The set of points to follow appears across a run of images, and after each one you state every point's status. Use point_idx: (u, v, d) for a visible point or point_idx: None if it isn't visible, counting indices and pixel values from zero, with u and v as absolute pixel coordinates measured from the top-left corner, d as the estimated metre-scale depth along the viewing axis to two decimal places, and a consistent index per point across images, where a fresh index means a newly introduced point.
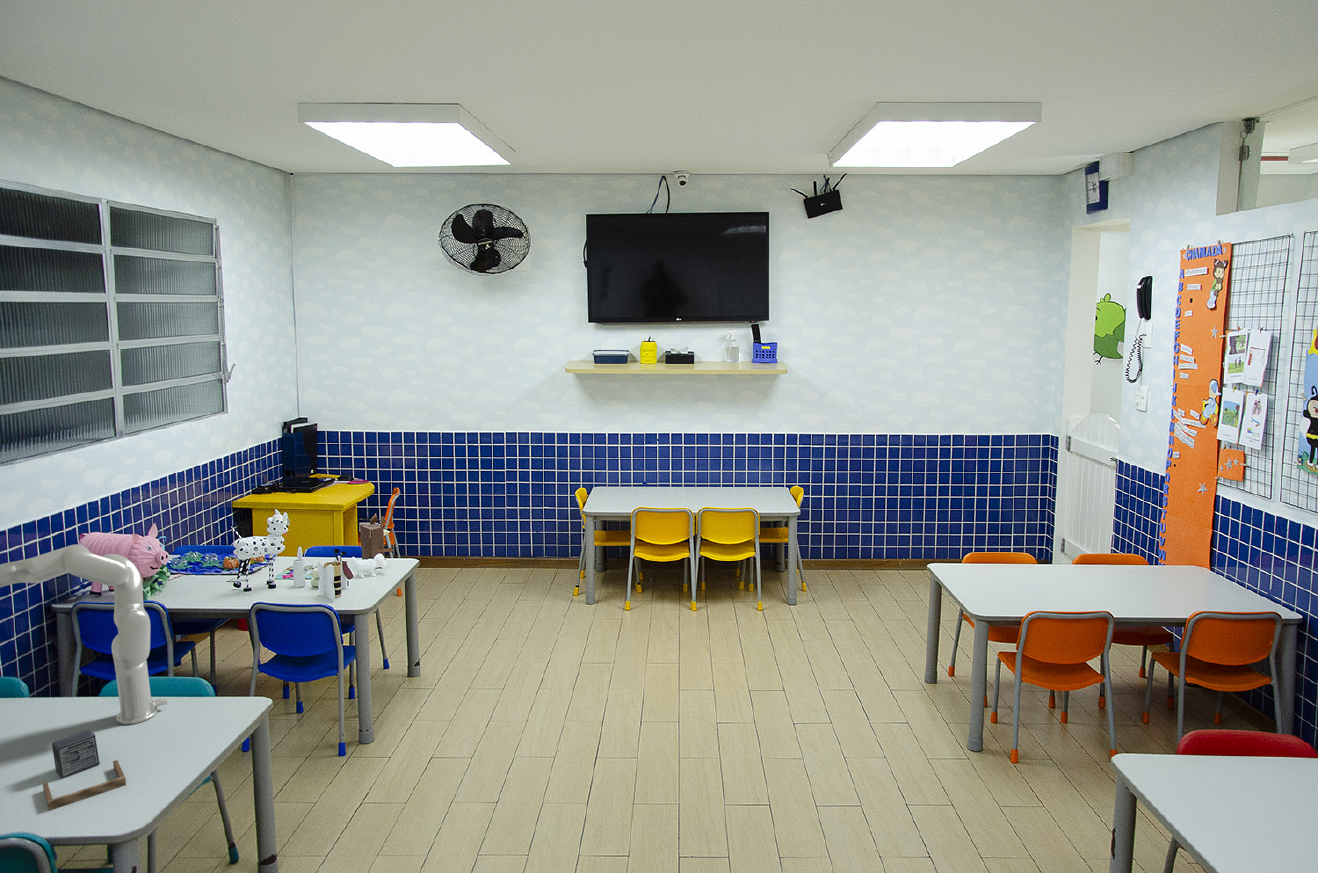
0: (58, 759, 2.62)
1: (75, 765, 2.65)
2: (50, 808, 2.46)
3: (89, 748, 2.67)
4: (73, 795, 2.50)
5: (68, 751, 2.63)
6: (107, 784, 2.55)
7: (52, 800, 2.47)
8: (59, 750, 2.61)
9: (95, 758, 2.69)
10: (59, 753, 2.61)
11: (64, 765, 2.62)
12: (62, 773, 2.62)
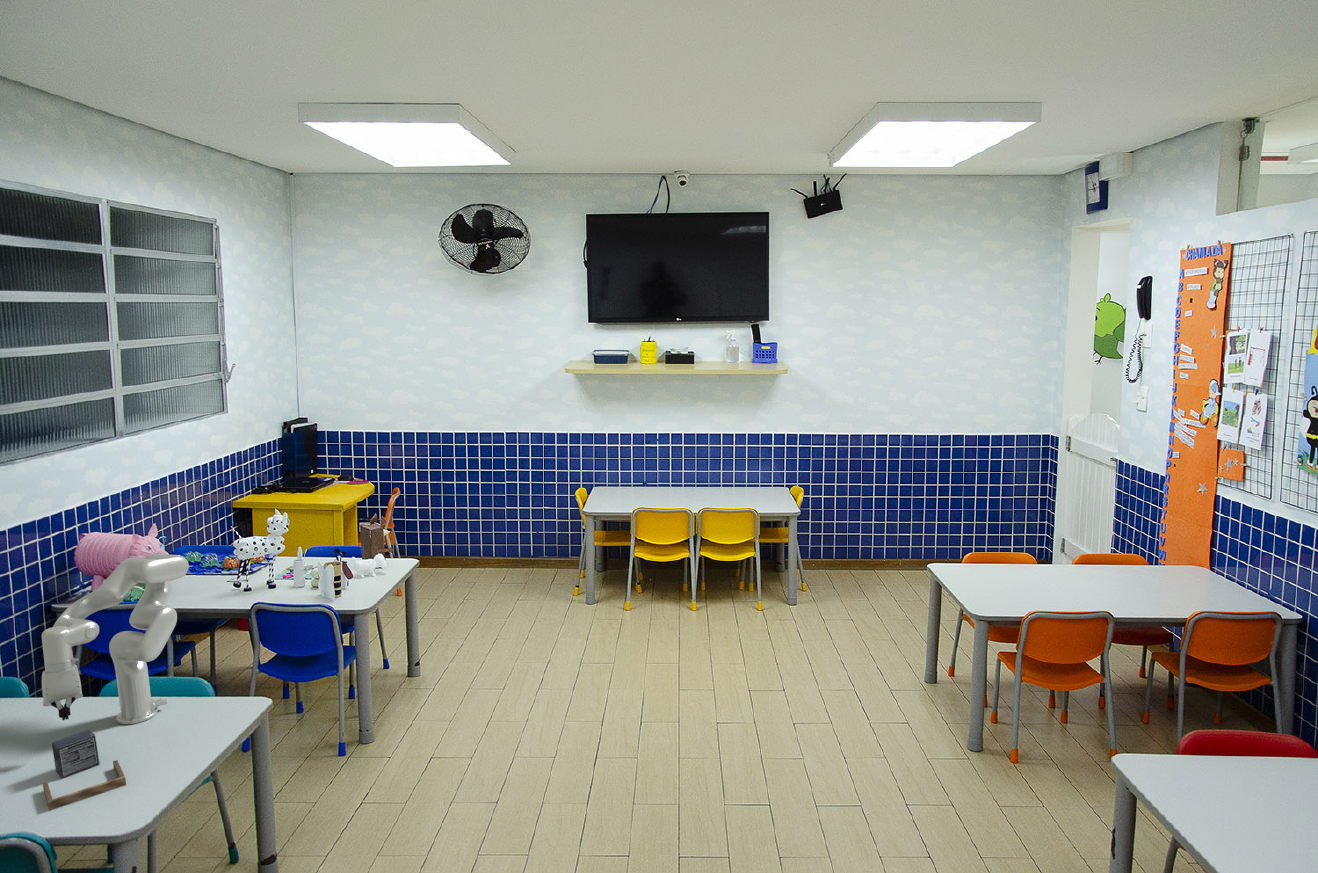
0: (58, 759, 2.62)
1: (75, 765, 2.65)
2: (50, 808, 2.46)
3: (89, 748, 2.67)
4: (73, 795, 2.50)
5: (68, 751, 2.63)
6: (107, 784, 2.55)
7: (52, 800, 2.47)
8: (59, 750, 2.61)
9: (95, 758, 2.69)
10: (59, 753, 2.61)
11: (64, 765, 2.62)
12: (62, 773, 2.62)
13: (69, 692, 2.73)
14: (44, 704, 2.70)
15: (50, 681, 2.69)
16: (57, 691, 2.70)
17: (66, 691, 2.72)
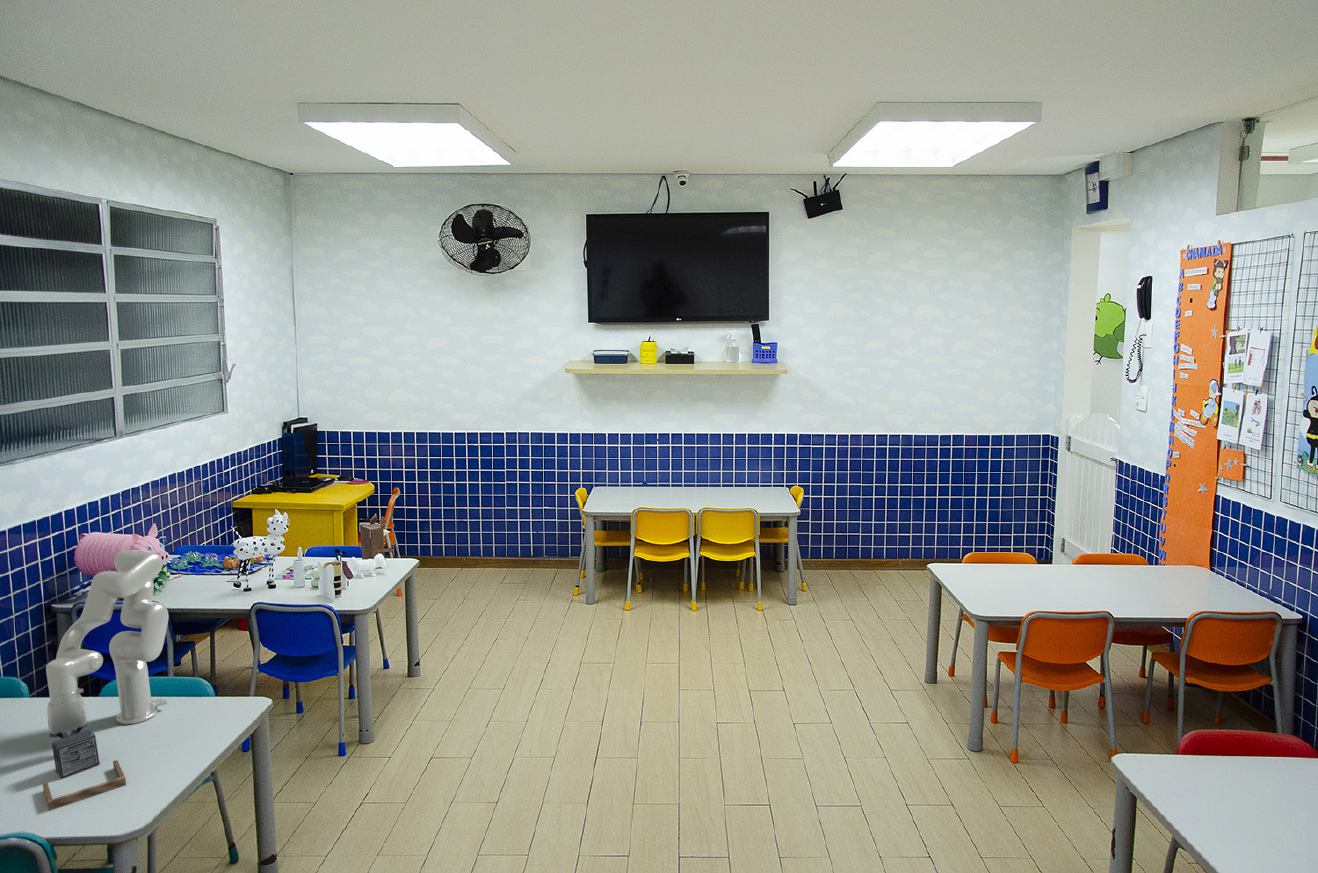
0: (58, 759, 2.62)
1: (75, 765, 2.65)
2: (50, 808, 2.46)
3: (89, 748, 2.67)
4: (73, 795, 2.50)
5: (68, 751, 2.63)
6: (107, 784, 2.55)
7: (52, 800, 2.47)
8: (59, 750, 2.61)
9: (95, 758, 2.69)
10: (59, 753, 2.61)
11: (64, 765, 2.62)
12: (62, 773, 2.62)
13: (75, 723, 2.75)
14: (50, 735, 2.72)
15: (56, 713, 2.71)
16: (62, 722, 2.72)
17: (71, 722, 2.74)
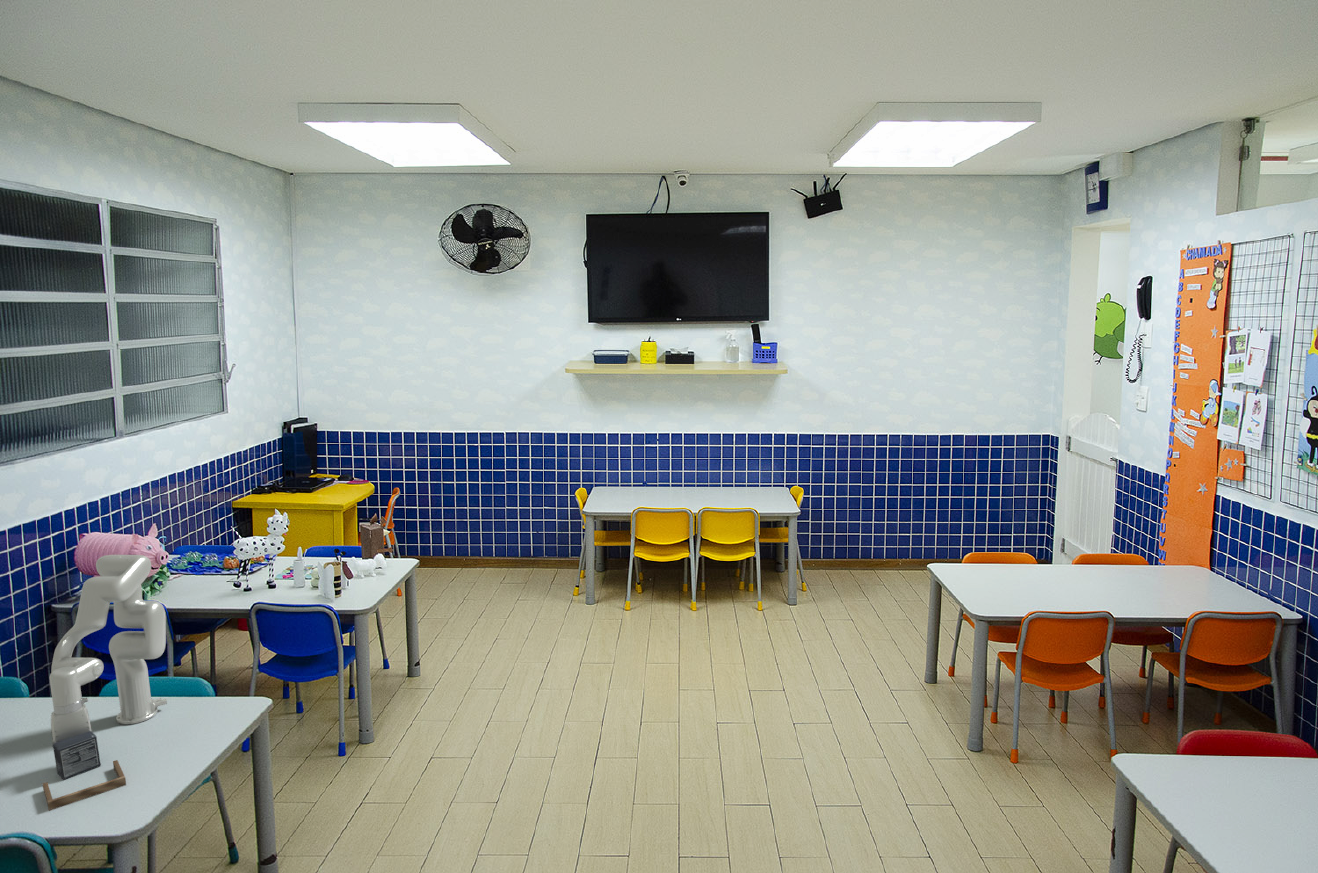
0: (59, 760, 2.61)
1: (76, 767, 2.64)
2: (50, 808, 2.46)
3: (91, 750, 2.66)
4: (73, 795, 2.50)
5: (69, 752, 2.62)
6: (107, 784, 2.55)
7: (52, 800, 2.47)
8: (60, 751, 2.60)
9: (96, 760, 2.68)
10: (60, 754, 2.60)
11: (65, 766, 2.61)
12: (63, 774, 2.61)
13: (79, 733, 2.68)
14: None
15: (59, 723, 2.64)
16: (66, 733, 2.66)
17: (75, 732, 2.68)
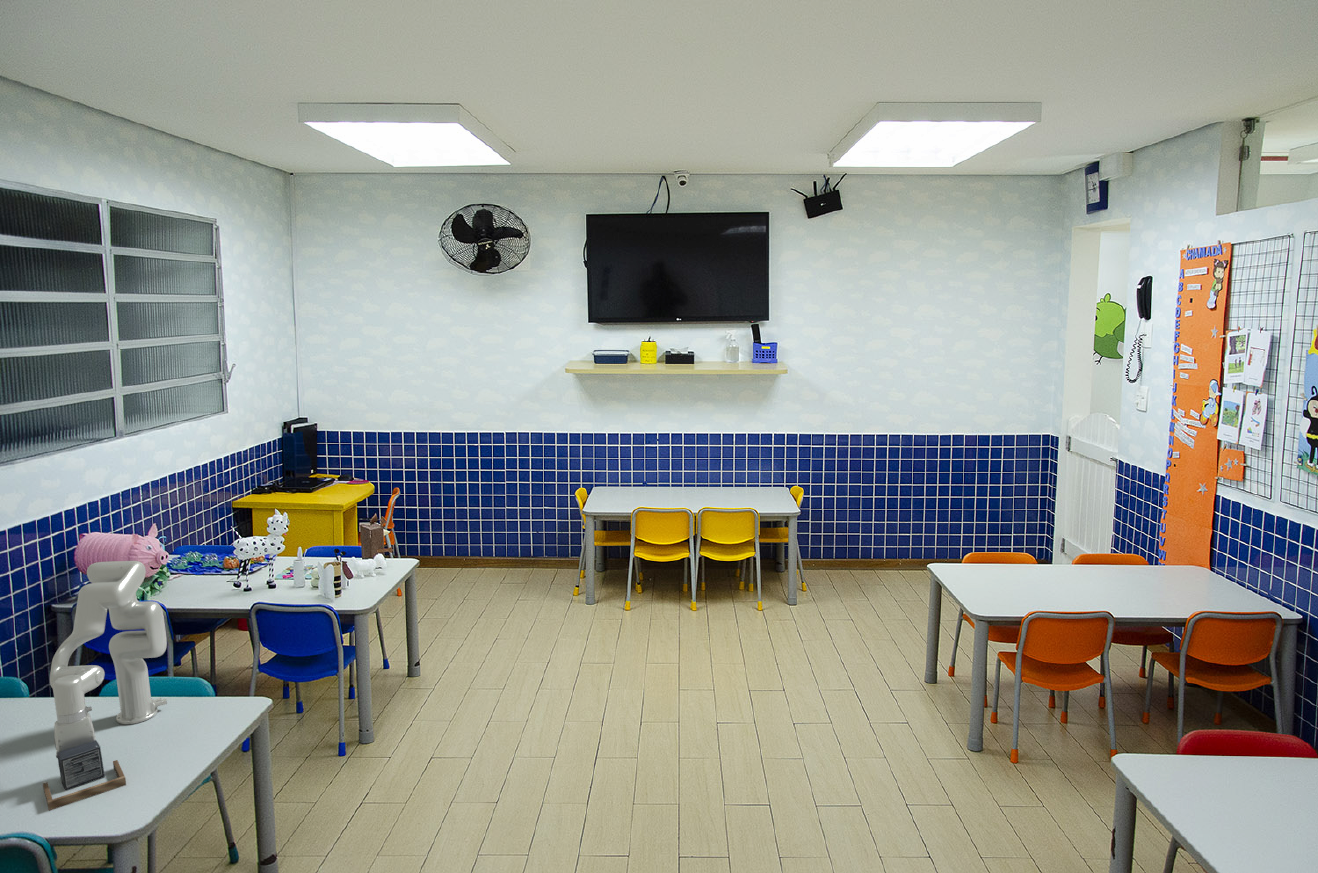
0: (61, 770, 2.55)
1: (79, 777, 2.58)
2: (50, 808, 2.46)
3: (94, 760, 2.60)
4: (73, 795, 2.50)
5: (72, 763, 2.56)
6: (107, 784, 2.55)
7: (52, 800, 2.47)
8: (62, 761, 2.54)
9: (99, 771, 2.62)
10: (62, 764, 2.55)
11: (67, 776, 2.56)
12: (65, 785, 2.56)
13: (83, 743, 2.62)
14: None
15: (63, 733, 2.59)
16: (70, 742, 2.60)
17: (79, 742, 2.62)
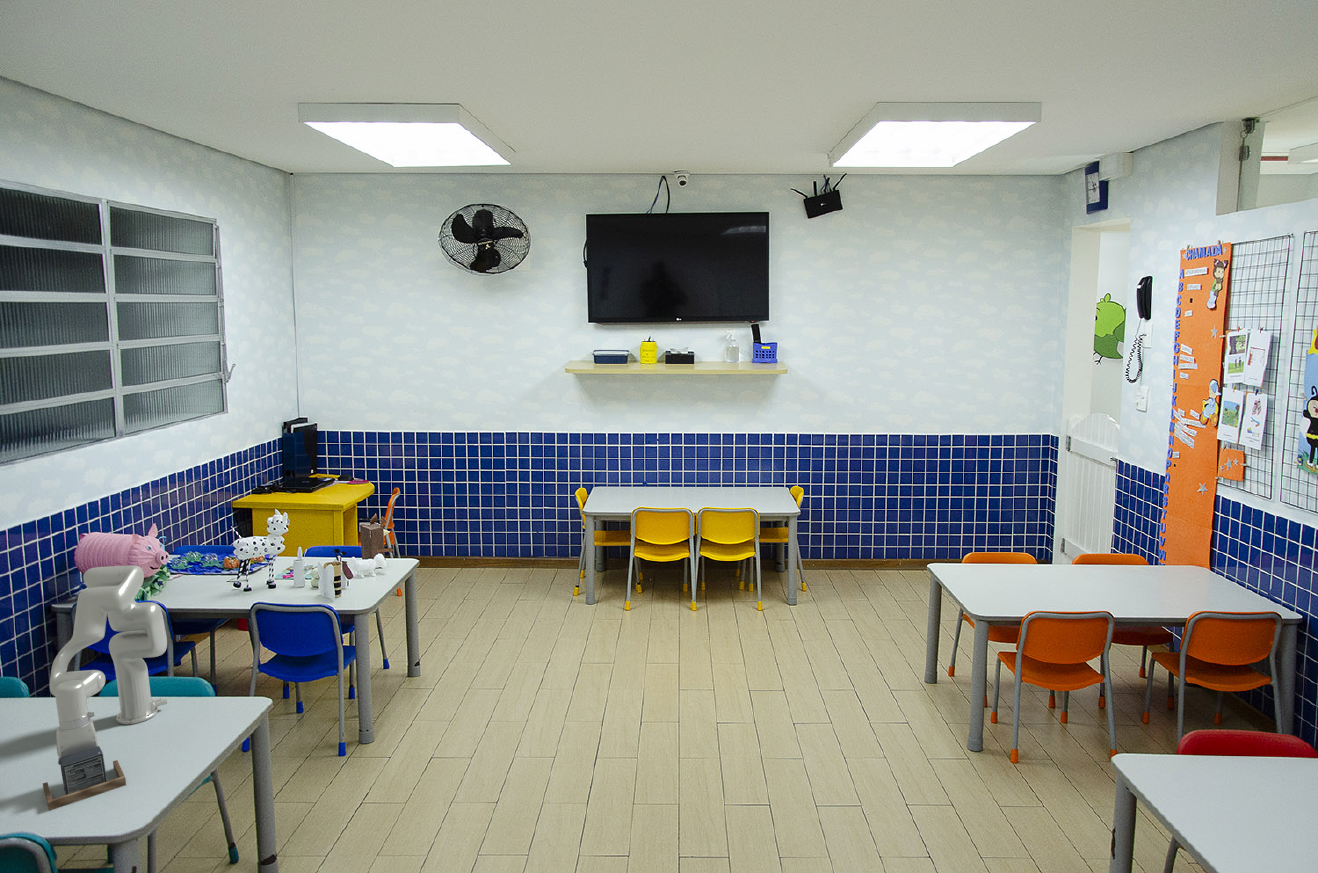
0: (63, 777, 2.52)
1: (81, 784, 2.54)
2: (50, 808, 2.46)
3: (96, 767, 2.57)
4: (73, 795, 2.50)
5: (74, 769, 2.53)
6: (107, 784, 2.55)
7: (52, 800, 2.47)
8: (64, 768, 2.51)
9: (102, 777, 2.58)
10: (64, 771, 2.51)
11: (69, 783, 2.52)
12: (67, 792, 2.52)
13: (85, 749, 2.59)
14: (59, 762, 2.56)
15: (65, 739, 2.55)
16: (72, 749, 2.57)
17: (82, 748, 2.58)
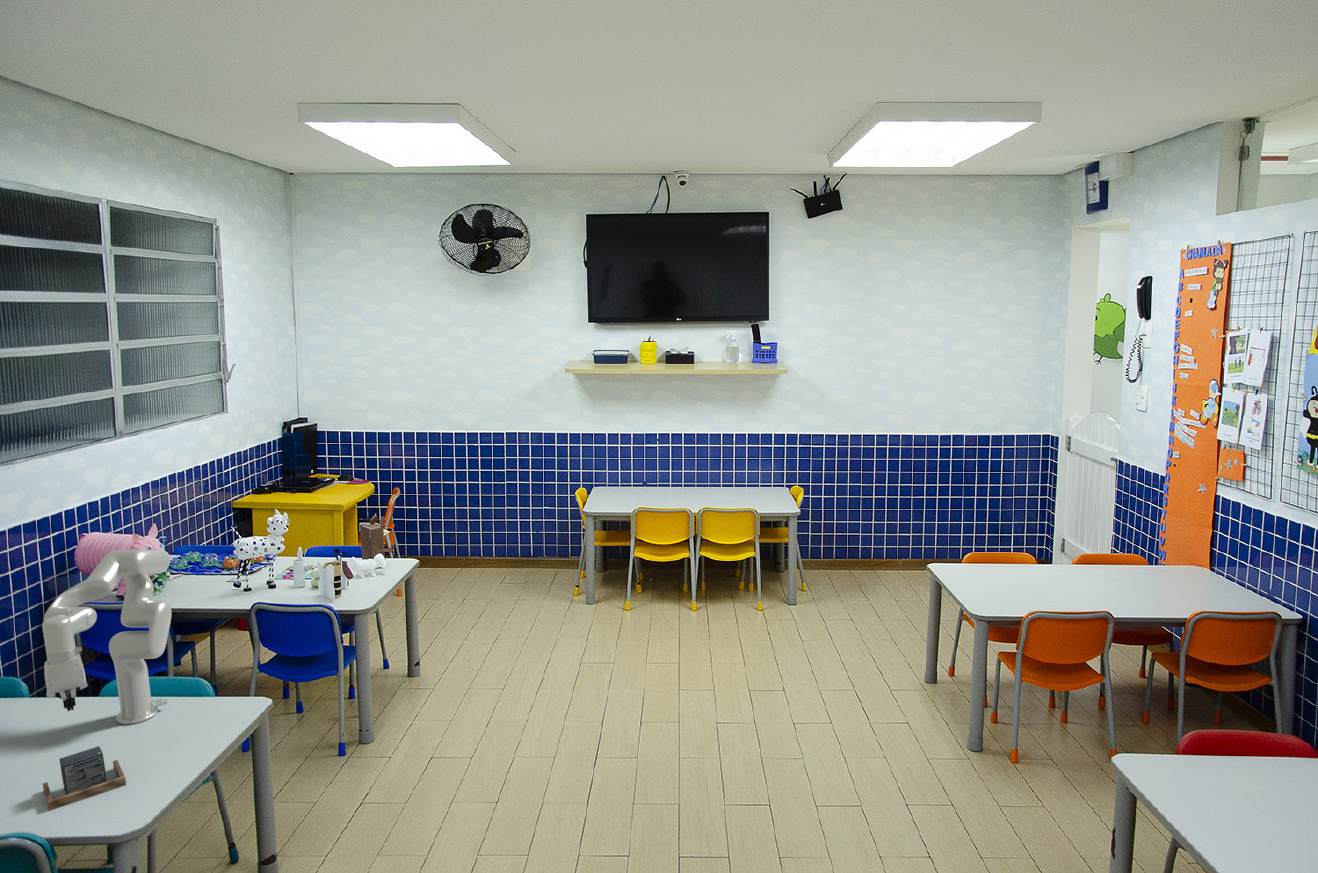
0: (63, 777, 2.52)
1: (81, 784, 2.54)
2: (50, 808, 2.46)
3: (96, 767, 2.57)
4: (73, 795, 2.50)
5: (74, 769, 2.53)
6: (107, 784, 2.55)
7: (52, 800, 2.47)
8: (64, 768, 2.51)
9: (102, 777, 2.58)
10: (64, 771, 2.51)
11: (69, 783, 2.52)
12: (67, 792, 2.52)
13: (73, 682, 2.64)
14: (48, 695, 2.62)
15: (53, 672, 2.60)
16: (60, 682, 2.62)
17: (70, 682, 2.64)
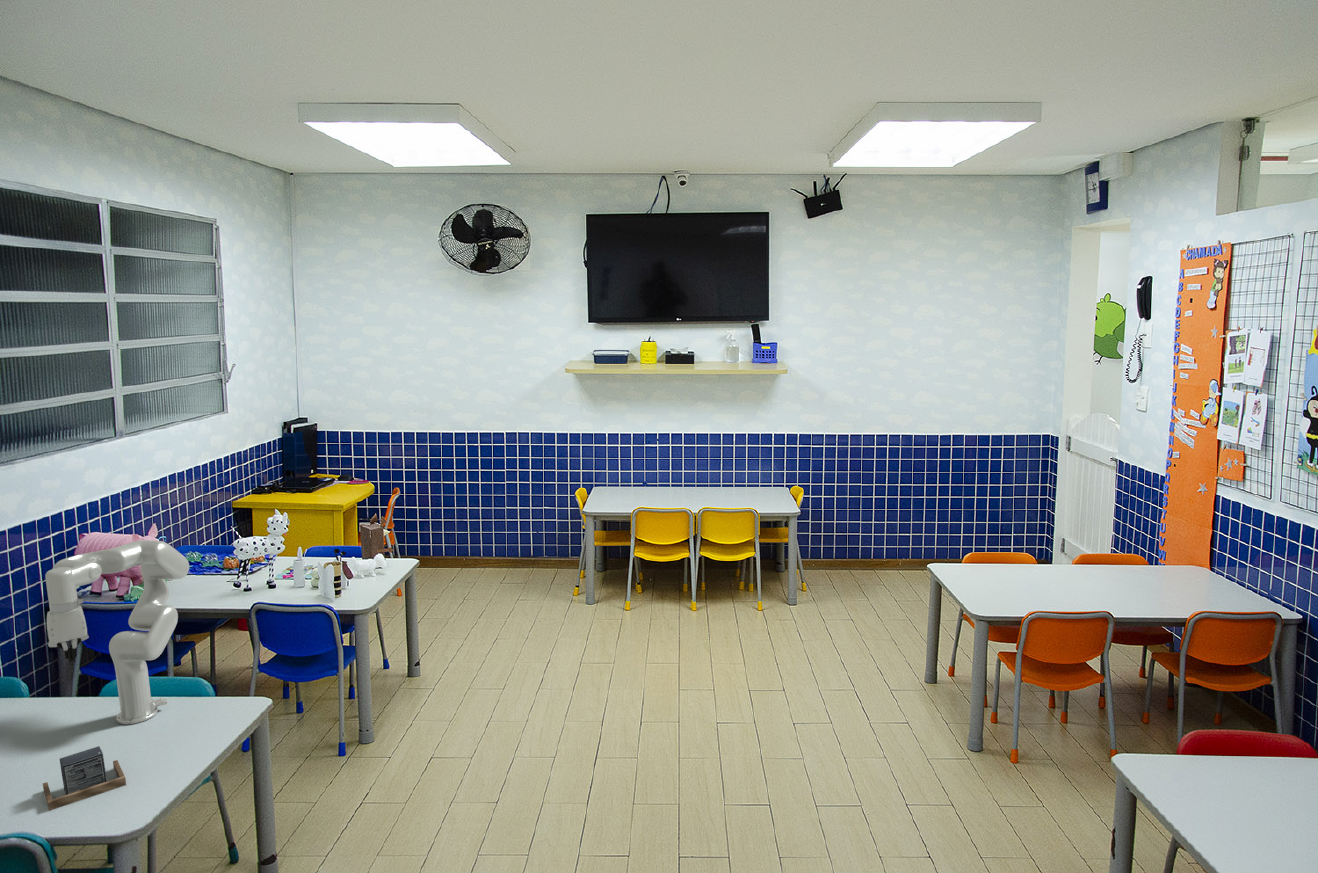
0: (63, 777, 2.52)
1: (81, 784, 2.54)
2: (50, 808, 2.46)
3: (96, 767, 2.57)
4: (73, 795, 2.50)
5: (74, 769, 2.53)
6: (107, 784, 2.55)
7: (52, 800, 2.47)
8: (64, 768, 2.51)
9: (102, 777, 2.58)
10: (64, 771, 2.51)
11: (69, 783, 2.52)
12: (67, 792, 2.52)
13: (75, 633, 2.70)
14: (50, 645, 2.68)
15: (55, 622, 2.67)
16: (62, 632, 2.68)
17: (71, 632, 2.70)
